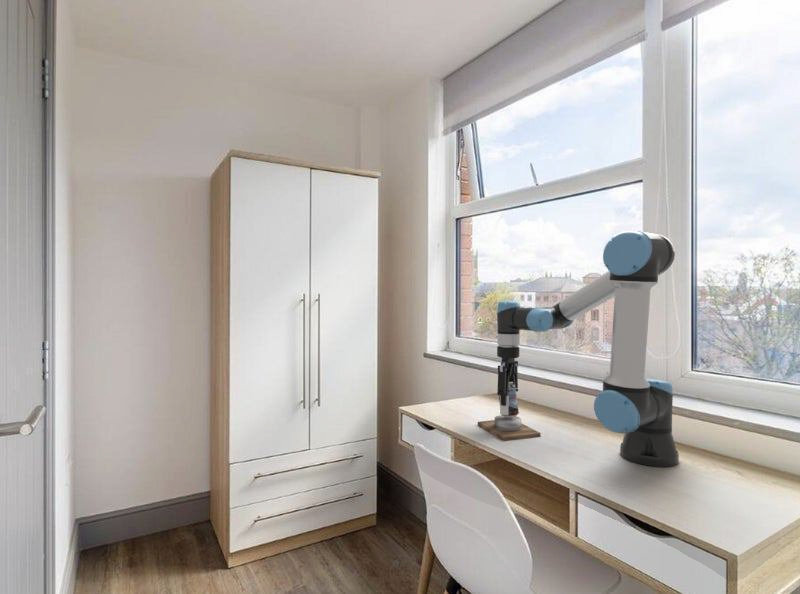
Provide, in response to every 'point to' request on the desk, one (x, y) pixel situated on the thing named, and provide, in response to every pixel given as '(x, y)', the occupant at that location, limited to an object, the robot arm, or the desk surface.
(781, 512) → the desk surface
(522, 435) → the post board
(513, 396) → the beverage can
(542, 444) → the desk surface
